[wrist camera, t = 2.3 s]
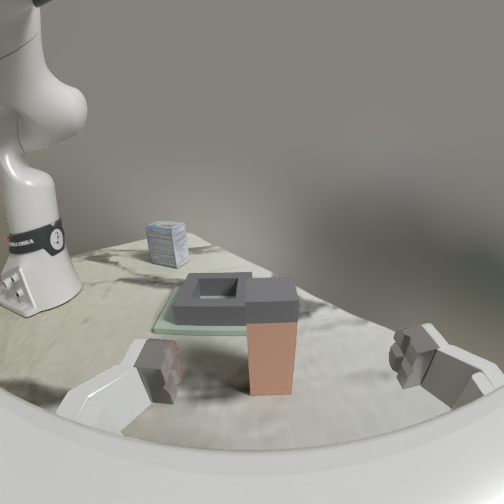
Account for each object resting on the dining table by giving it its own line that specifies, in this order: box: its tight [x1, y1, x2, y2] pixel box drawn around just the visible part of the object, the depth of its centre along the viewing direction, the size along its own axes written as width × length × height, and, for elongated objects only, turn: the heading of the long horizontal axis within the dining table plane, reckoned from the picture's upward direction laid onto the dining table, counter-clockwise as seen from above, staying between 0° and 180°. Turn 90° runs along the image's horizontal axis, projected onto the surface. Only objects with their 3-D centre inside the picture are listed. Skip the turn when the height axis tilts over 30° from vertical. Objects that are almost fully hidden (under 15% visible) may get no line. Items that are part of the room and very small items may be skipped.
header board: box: [153, 272, 252, 336], centre depth 38 cm, size 16×12×4 cm
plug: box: [245, 277, 299, 396], centre depth 24 cm, size 4×4×11 cm
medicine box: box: [146, 221, 189, 268], centre depth 56 cm, size 8×4×9 cm, turn 65°
